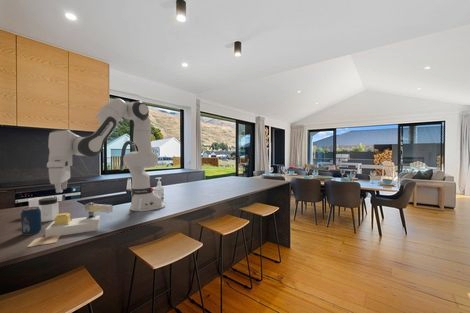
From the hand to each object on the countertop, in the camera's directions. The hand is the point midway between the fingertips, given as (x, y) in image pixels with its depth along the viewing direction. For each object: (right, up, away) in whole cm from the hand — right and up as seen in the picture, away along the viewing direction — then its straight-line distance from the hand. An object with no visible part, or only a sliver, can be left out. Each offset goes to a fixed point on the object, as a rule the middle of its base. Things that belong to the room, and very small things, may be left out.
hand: (61, 190), depth 101 cm
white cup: (-38, -20, +27) cm, 50 cm away
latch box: (+4, -20, +3) cm, 21 cm away
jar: (-23, -20, +18) cm, 35 cm away
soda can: (-14, -21, -1) cm, 25 cm away
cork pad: (+1, -21, -10) cm, 23 cm away
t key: (+12, -16, +9) cm, 22 cm away
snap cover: (0, -16, +1) cm, 16 cm away
